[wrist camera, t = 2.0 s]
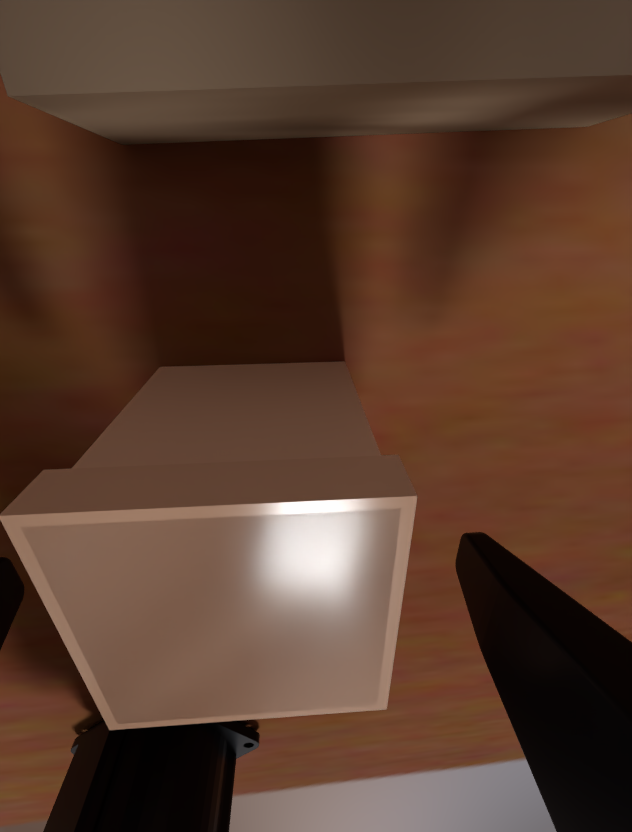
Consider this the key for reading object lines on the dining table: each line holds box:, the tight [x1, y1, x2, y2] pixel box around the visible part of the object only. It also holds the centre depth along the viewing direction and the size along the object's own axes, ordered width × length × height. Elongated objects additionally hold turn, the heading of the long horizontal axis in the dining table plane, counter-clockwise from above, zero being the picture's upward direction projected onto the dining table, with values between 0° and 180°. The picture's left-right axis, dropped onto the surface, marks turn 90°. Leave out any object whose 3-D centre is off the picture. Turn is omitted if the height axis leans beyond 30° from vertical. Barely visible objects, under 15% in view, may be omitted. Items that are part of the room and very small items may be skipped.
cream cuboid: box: [0, 361, 417, 730], centre depth 9 cm, size 5×5×6 cm
